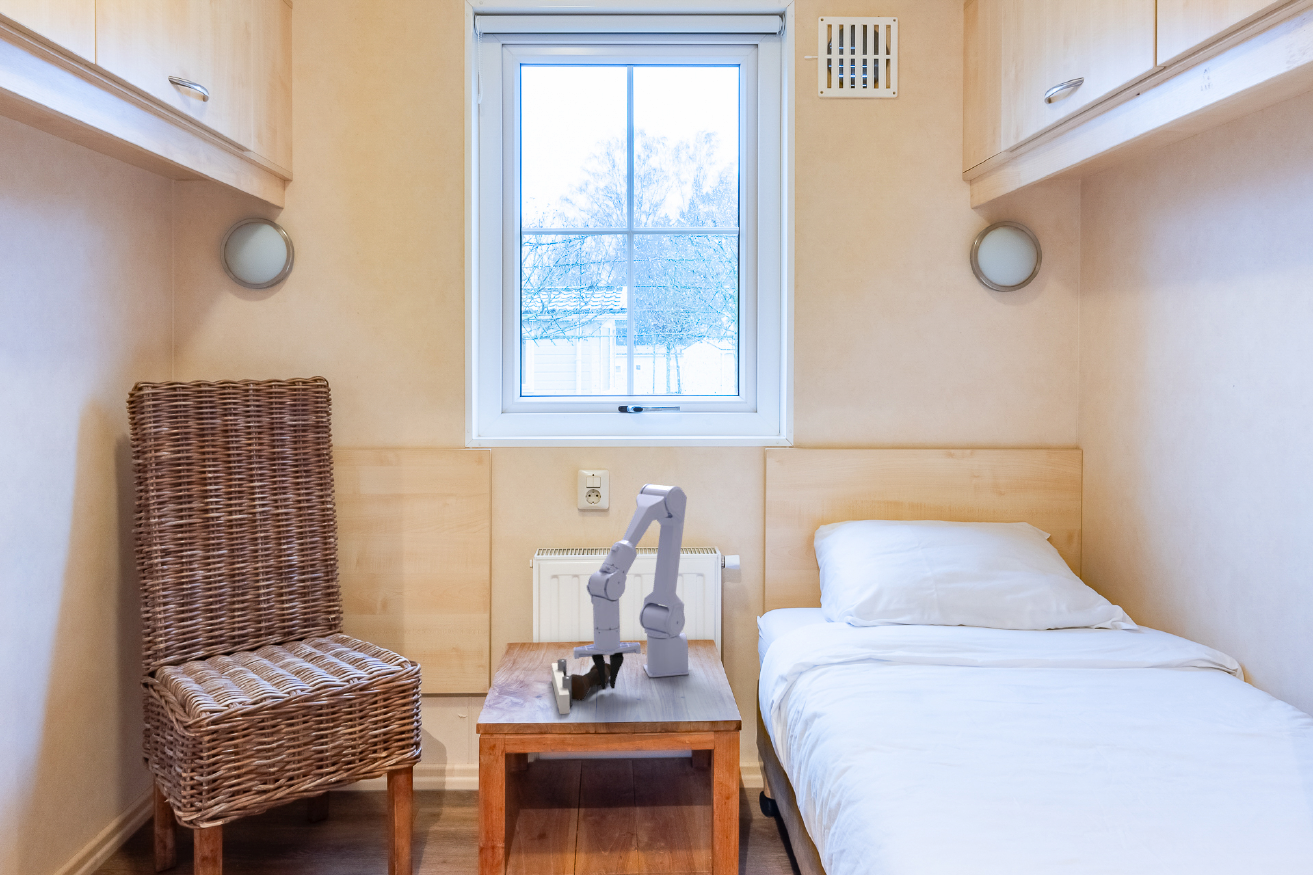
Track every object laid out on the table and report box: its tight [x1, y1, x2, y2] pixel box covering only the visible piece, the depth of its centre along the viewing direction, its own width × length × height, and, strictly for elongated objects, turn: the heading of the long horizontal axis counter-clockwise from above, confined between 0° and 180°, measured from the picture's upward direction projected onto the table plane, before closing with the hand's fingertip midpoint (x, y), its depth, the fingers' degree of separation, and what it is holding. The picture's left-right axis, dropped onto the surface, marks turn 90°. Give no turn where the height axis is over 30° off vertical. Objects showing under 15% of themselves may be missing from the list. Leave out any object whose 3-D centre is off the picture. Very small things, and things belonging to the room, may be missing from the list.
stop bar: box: [551, 658, 573, 715], centre depth 178 cm, size 3×20×6 cm, turn 12°
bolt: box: [569, 662, 610, 701], centre depth 183 cm, size 6×5×15 cm
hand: (607, 687), depth 180 cm, fingers closed
